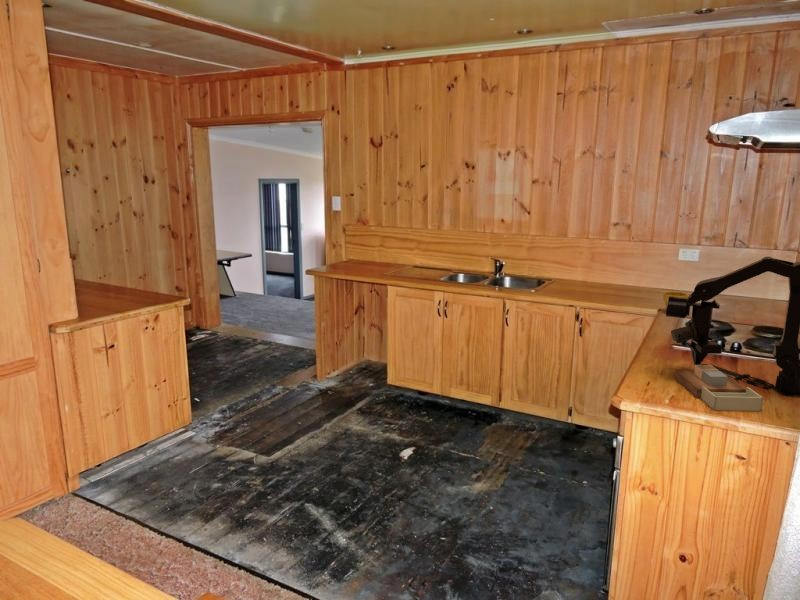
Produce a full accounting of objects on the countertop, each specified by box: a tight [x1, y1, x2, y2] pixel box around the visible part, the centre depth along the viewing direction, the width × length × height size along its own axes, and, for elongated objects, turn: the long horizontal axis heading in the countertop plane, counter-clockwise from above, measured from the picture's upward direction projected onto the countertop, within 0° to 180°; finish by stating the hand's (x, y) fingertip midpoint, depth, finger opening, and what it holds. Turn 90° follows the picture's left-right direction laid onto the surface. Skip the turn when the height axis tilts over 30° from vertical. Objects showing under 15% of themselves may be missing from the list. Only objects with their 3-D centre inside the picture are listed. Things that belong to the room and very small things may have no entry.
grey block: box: [702, 371, 729, 386], centre depth 168 cm, size 5×5×3 cm
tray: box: [700, 386, 764, 412], centre depth 159 cm, size 13×8×4 cm, turn 85°
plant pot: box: [662, 291, 689, 309], centre depth 262 cm, size 10×10×10 cm
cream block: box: [693, 364, 719, 379], centre depth 173 cm, size 5×5×3 cm
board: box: [674, 369, 746, 399], centre depth 171 cm, size 14×16×3 cm
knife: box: [700, 363, 776, 390], centre depth 183 cm, size 25×6×1 cm, turn 18°
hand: (696, 366), depth 180 cm, fingers closed
